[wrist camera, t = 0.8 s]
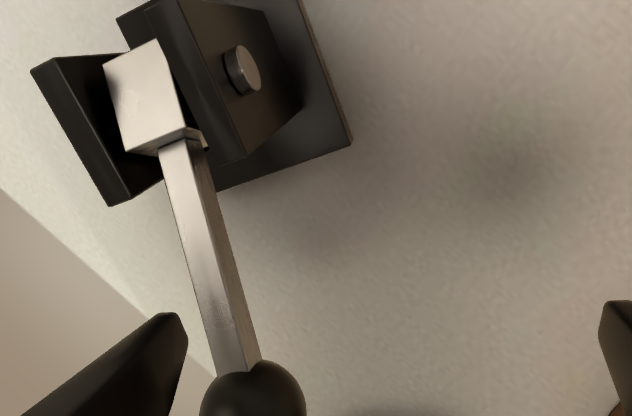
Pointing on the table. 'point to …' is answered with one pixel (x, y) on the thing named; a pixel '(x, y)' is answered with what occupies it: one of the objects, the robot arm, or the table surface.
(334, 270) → the table surface
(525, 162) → the table surface
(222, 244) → the switch lever
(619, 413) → the button block
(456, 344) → the table surface
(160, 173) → the switch bracket
